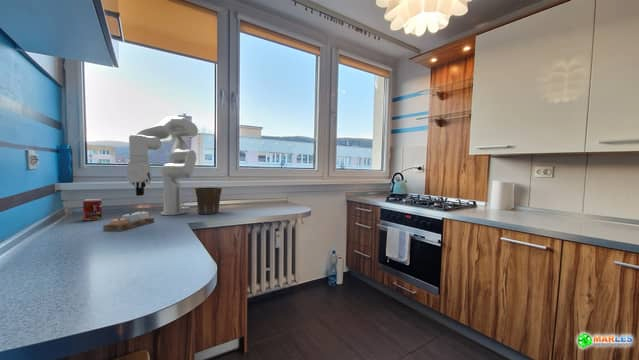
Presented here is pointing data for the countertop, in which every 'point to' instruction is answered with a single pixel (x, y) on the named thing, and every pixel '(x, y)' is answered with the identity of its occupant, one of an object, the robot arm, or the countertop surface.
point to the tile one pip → (142, 215)
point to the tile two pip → (131, 217)
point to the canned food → (92, 208)
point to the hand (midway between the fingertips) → (140, 195)
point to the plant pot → (208, 200)
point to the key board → (127, 225)
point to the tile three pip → (118, 221)
